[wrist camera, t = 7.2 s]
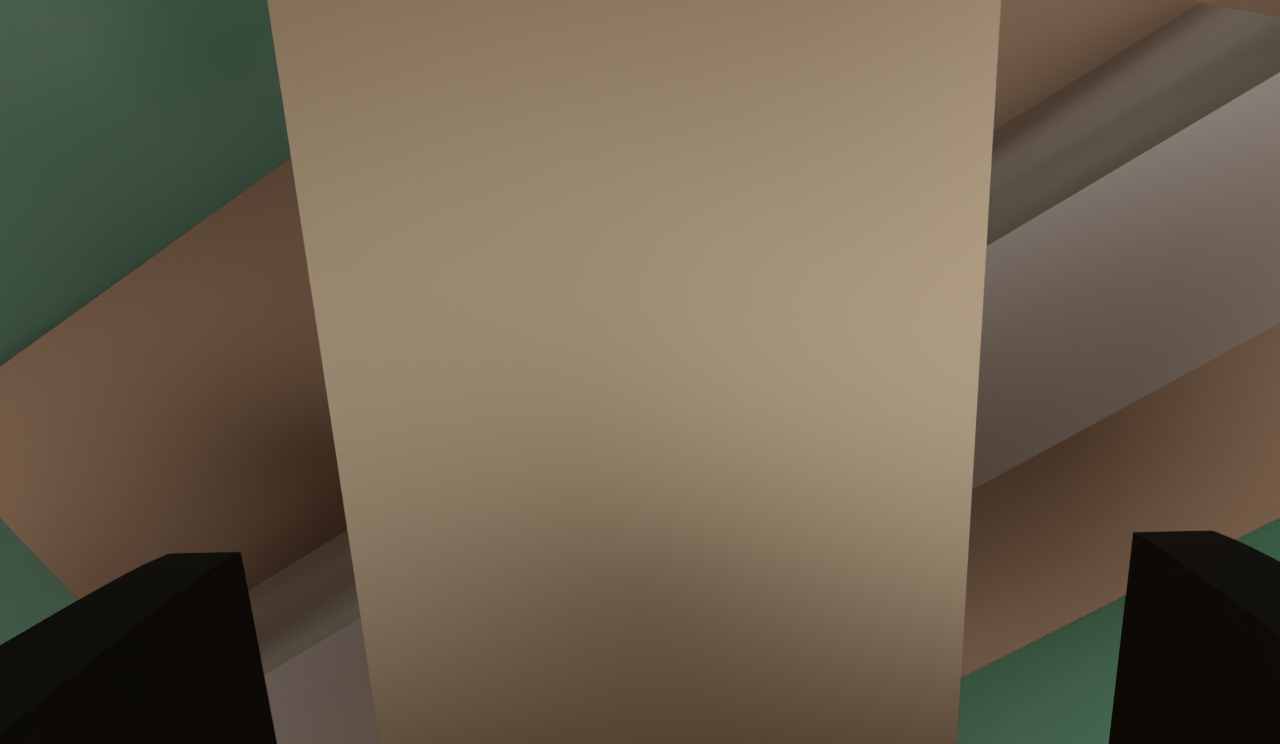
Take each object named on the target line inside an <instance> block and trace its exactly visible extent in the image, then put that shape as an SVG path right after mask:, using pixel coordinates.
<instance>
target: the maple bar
mask: <svg viewBox="0 0 1280 744" xmlns="http://www.w3.org/2000/svg"><path fill="white" fill-rule="evenodd" d="M267 1H268V8H269V15H270V21H271V28H272V35H273V41H274V48H275V54H276V61H277V68H278V74H279V81H280V87H281V94H282V101H283V107H284V114H285V120H286V127H287V134H288V140H289V147H290V154H291V160H292V167H293V173H294V180H295V187H296V193H297V200H298V206H299V213H300V220H301V226H302V233H303V240H304V246H305V253H306V259H307V266H308V273H309V279H310V286H311V292H312V299H313V306H314V312H315V319H316V325H317V332H318V339H319V345H320V352H321V359H322V365H323V372H324V378H325V385H326V392H327V398H328V405H329V411H330V418H331V425H332V431H333V438H334V444H335V451H336V458H337V464H338V471H339V478H340V484H341V491H342V497H343V504H344V511H345V517H346V524H347V530H348V537H349V544H350V550H351V557H352V563H353V570H354V577H355V583H356V590H357V597H358V603H359V610H360V616H361V623H362V630H363V636H364V643H365V649H366V656H367V663H368V669H369V676H370V682H371V689H372V696H373V702H374V709H375V716H376V722H377V729H378V735H379V742H380V744H957V735H958V718H959V701H960V684H961V667H962V650H963V633H964V617H965V600H966V583H967V566H968V549H969V532H970V515H971V498H972V482H973V465H974V448H975V431H976V414H977V397H978V380H979V364H980V347H981V330H982V313H983V296H984V279H985V262H986V245H987V229H988V212H989V195H990V178H991V161H992V144H993V127H994V110H995V94H996V77H997V60H998V43H999V26H1000V9H1001V0H267Z"/></svg>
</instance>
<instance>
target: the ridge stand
mask: <svg viewBox="0 0 1280 744" xmlns="http://www.w3.org/2000/svg"><path fill="white" fill-rule="evenodd" d="M0 518H1V519H2V520H3V521H4V522H5V523H6V524H7V525H8V526H9V527H10V529H11V530H12V531H13V532H14V533H15V534H16V535H17V536H18V537H19V538H20V539H21V540H22V541H23V542H24V543H25V544H26V545H27V547H28V548H29V549H30V550H31V551H32V552H33V553H34V554H35V555H36V556H37V557H38V558H39V559H40V560H41V561H42V562H43V563H44V565H45V566H46V567H47V568H48V569H49V570H50V571H51V572H52V573H53V574H54V575H55V576H56V577H57V578H58V579H59V580H60V582H61V583H62V584H63V585H64V586H65V587H66V588H67V589H68V590H69V591H70V592H71V593H72V594H73V595H74V596H75V597H76V598H77V600H79V599H81V598H83V597H85V596H86V595H88V594H90V593H92V592H93V591H95V590H97V589H99V588H100V587H102V586H104V585H106V584H108V583H109V582H111V581H113V580H115V579H117V578H119V577H120V576H122V575H124V574H126V573H128V572H130V571H132V570H134V569H136V568H138V567H140V566H142V565H144V564H146V563H148V562H150V561H153V560H155V559H157V558H160V557H162V556H164V555H166V554H169V553H209V552H241V555H242V560H243V565H244V571H245V576H246V581H247V587H248V592H249V597H250V603H251V608H252V613H253V618H254V624H255V629H256V634H257V640H258V645H259V650H260V656H261V661H262V666H263V671H264V677H265V682H266V687H267V693H268V698H269V703H270V709H271V714H272V719H273V724H274V730H275V735H276V740H277V744H380V742H379V735H378V729H377V722H376V716H375V709H374V702H373V696H372V689H371V682H370V676H369V669H368V663H367V656H366V649H365V643H364V636H363V630H362V623H361V616H360V610H359V603H358V597H357V590H356V583H355V577H354V570H353V563H352V557H351V550H350V544H349V537H348V530H347V524H346V517H345V511H344V504H343V497H342V491H341V484H340V478H339V471H338V464H337V458H336V451H335V444H334V438H333V431H332V425H331V418H330V411H329V405H328V398H327V392H326V385H325V378H324V372H323V365H322V359H321V352H320V345H319V339H318V332H317V325H316V319H315V312H314V306H313V299H312V292H311V286H310V279H309V273H308V266H307V259H306V253H305V246H304V240H303V233H302V226H301V220H300V213H299V206H298V200H297V193H296V187H295V180H294V173H293V167H292V160H291V157H290V158H289V159H288V160H286V161H285V162H284V163H282V164H281V165H279V166H278V167H277V168H275V169H274V170H272V171H271V172H270V173H268V174H267V175H265V176H264V177H263V178H261V179H260V180H259V181H257V182H256V183H254V184H253V185H252V186H250V187H249V188H247V189H246V190H245V191H243V192H242V193H240V194H239V195H238V196H236V197H235V198H234V199H232V200H231V201H229V202H228V203H227V204H225V205H224V206H222V207H221V208H220V209H218V210H217V211H216V212H214V213H213V214H211V215H210V216H209V217H207V218H206V219H204V220H203V221H202V222H200V223H199V224H197V225H196V226H195V227H193V228H192V229H191V230H189V231H188V232H186V233H185V234H184V235H182V236H181V237H179V238H178V239H177V240H175V241H174V242H172V243H171V244H170V245H168V246H167V247H166V248H164V249H163V250H161V251H160V252H159V253H157V254H156V255H154V256H153V257H152V258H150V259H149V260H147V261H146V262H145V263H143V264H142V265H141V266H139V267H138V268H136V269H135V270H134V271H132V272H131V273H129V274H128V275H127V276H125V277H124V278H122V279H121V280H120V281H118V282H117V283H116V284H114V285H113V286H111V287H110V288H109V289H107V290H106V291H104V292H103V293H102V294H100V295H99V296H97V297H96V298H95V299H93V300H92V301H91V302H89V303H88V304H86V305H85V306H84V307H82V308H81V309H79V310H78V311H77V312H75V313H74V314H72V315H71V316H70V317H68V318H67V319H66V320H64V321H63V322H61V323H60V324H59V325H57V326H56V327H54V328H53V329H52V330H50V331H49V332H47V333H46V334H45V335H43V336H42V337H41V338H39V339H38V340H36V341H35V342H34V343H32V344H31V345H29V346H28V347H27V348H25V349H24V350H22V351H21V352H20V353H18V354H17V355H16V356H14V357H13V358H11V359H10V360H9V361H7V362H6V363H4V364H3V365H2V366H0ZM1278 518H1280V0H1001V9H1000V26H999V43H998V60H997V77H996V94H995V110H994V127H993V144H992V161H991V178H990V195H989V212H988V229H987V245H986V262H985V279H984V296H983V313H982V330H981V347H980V364H979V380H978V397H977V414H976V431H975V448H974V465H973V482H972V498H971V515H970V532H969V549H968V566H967V583H966V600H965V617H964V633H963V650H962V667H961V678H962V677H964V676H966V675H968V674H970V673H972V672H974V671H976V670H978V669H980V668H982V667H984V666H986V665H988V664H990V663H992V662H994V661H996V660H998V659H1000V658H1002V657H1004V656H1006V655H1008V654H1010V653H1012V652H1014V651H1016V650H1018V649H1020V648H1022V647H1024V646H1026V645H1028V644H1030V643H1031V642H1033V641H1035V640H1037V639H1039V638H1041V637H1043V636H1045V635H1047V634H1049V633H1051V632H1053V631H1055V630H1057V629H1059V628H1061V627H1063V626H1065V625H1067V624H1069V623H1071V622H1073V621H1075V620H1077V619H1079V618H1081V617H1083V616H1085V615H1087V614H1089V613H1091V612H1093V611H1095V610H1097V609H1099V608H1101V607H1103V606H1105V605H1107V604H1109V603H1111V602H1113V601H1115V600H1117V599H1119V598H1121V597H1123V596H1125V595H1126V590H1127V581H1128V572H1129V563H1130V555H1131V546H1132V537H1133V532H1163V531H1208V530H1212V531H1215V532H1218V533H1220V534H1222V535H1225V536H1227V537H1230V538H1232V539H1235V540H1236V539H1238V538H1240V537H1242V536H1244V535H1246V534H1248V533H1250V532H1252V531H1254V530H1256V529H1258V528H1260V527H1262V526H1264V525H1266V524H1268V523H1270V522H1272V521H1274V520H1276V519H1278Z"/></svg>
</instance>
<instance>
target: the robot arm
mask: <svg viewBox="0 0 1280 744" xmlns="http://www.w3.org/2000/svg"><path fill="white" fill-rule="evenodd" d="M0 744H277V740H276V735H275V730H274V724H273V719H272V714H271V709H270V703H269V698H268V693H267V687H266V682H265V677H264V671H263V666H262V661H261V656H260V650H259V645H258V640H257V634H256V629H255V624H254V618H253V613H252V608H251V603H250V597H249V592H248V587H247V581H246V576H245V571H244V565H243V560H242V555H241V552H209V553H169V554H166V555H164V556H162V557H160V558H157V559H155V560H153V561H150V562H148V563H146V564H144V565H142V566H140V567H138V568H136V569H134V570H132V571H130V572H128V573H126V574H124V575H122V576H120V577H119V578H117V579H115V580H113V581H111V582H109V583H108V584H106V585H104V586H102V587H100V588H99V589H97V590H95V591H93V592H92V593H90V594H88V595H86V596H85V597H83V598H81V599H79V600H78V601H76V602H74V603H72V604H71V605H69V606H67V607H65V608H64V609H62V610H60V611H59V612H57V613H55V614H53V615H52V616H50V617H48V618H46V619H45V620H43V621H41V622H40V623H38V624H36V625H34V626H33V627H31V628H29V629H28V630H26V631H24V632H22V633H21V634H19V635H17V636H15V637H14V638H12V639H10V640H9V641H7V642H5V643H3V644H2V645H0ZM1109 744H1280V562H1279V561H1277V560H1276V559H1274V558H1272V557H1270V556H1268V555H1266V554H1264V553H1262V552H1260V551H1258V550H1256V549H1254V548H1252V547H1250V546H1248V545H1245V544H1243V543H1241V542H1239V541H1237V540H1235V539H1232V538H1230V537H1227V536H1225V535H1222V534H1220V533H1218V532H1215V531H1212V530H1208V531H1163V532H1133V537H1132V546H1131V555H1130V563H1129V572H1128V581H1127V590H1126V598H1125V607H1124V616H1123V624H1122V633H1121V642H1120V651H1119V659H1118V668H1117V677H1116V686H1115V694H1114V703H1113V712H1112V720H1111V729H1110V738H1109Z"/></svg>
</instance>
